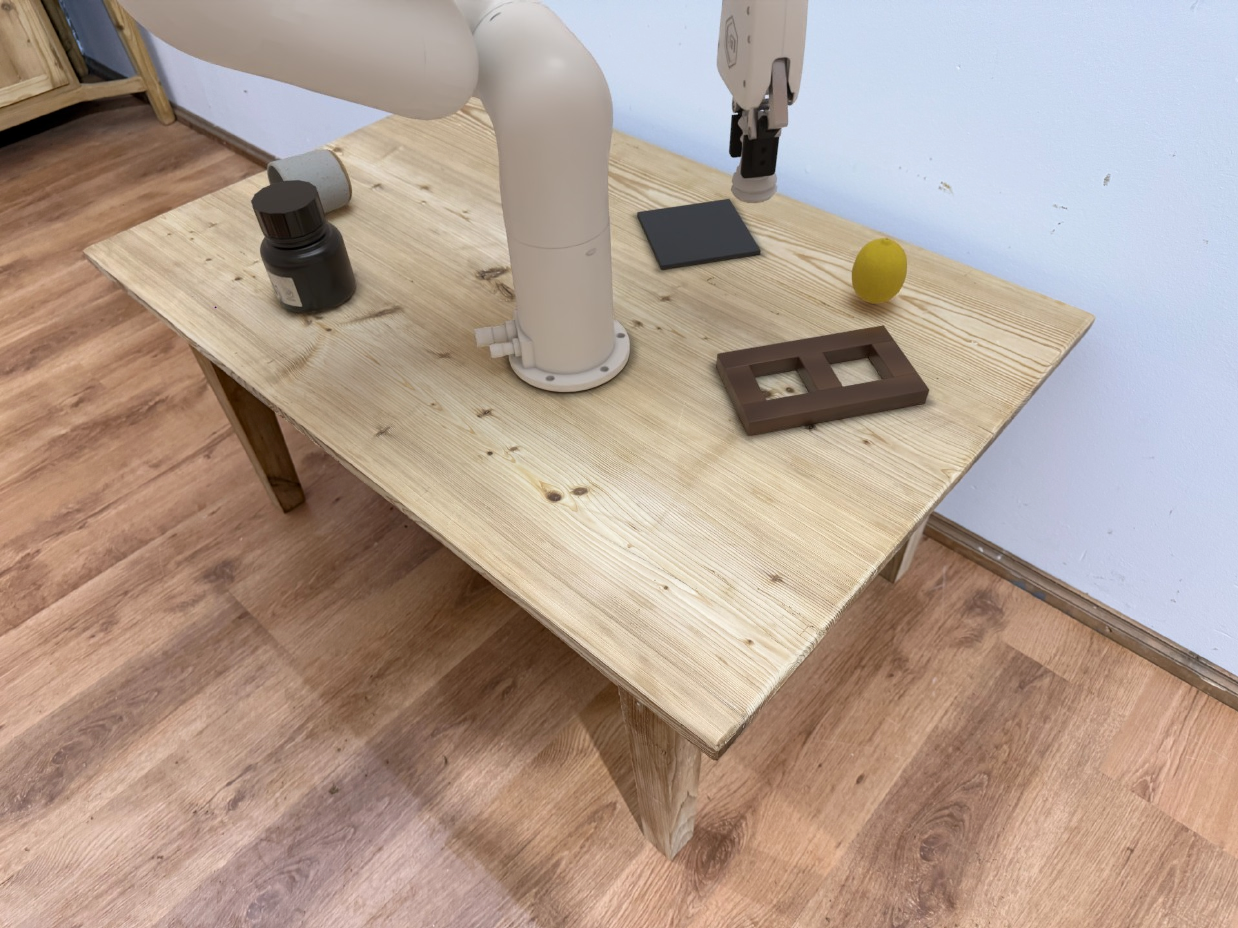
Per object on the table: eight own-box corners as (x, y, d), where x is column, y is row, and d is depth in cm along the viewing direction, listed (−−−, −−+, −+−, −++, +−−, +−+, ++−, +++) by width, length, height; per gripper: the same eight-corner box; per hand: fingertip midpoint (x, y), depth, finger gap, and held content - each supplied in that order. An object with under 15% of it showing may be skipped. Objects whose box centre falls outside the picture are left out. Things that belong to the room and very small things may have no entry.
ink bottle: (276, 276, 99) (240, 181, 91) (352, 261, 101) (324, 167, 92) (280, 324, 93) (241, 228, 84) (361, 308, 95) (331, 211, 86)
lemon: (898, 321, 90) (915, 256, 85) (845, 315, 91) (858, 251, 85) (897, 290, 94) (913, 226, 88) (846, 285, 95) (859, 222, 89)
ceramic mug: (362, 210, 109) (346, 153, 103) (304, 234, 105) (283, 176, 100) (323, 181, 114) (306, 126, 109) (267, 203, 111) (246, 147, 105)
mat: (661, 270, 98) (661, 265, 98) (637, 216, 106) (637, 212, 106) (760, 254, 100) (760, 250, 99) (729, 202, 108) (729, 198, 107)
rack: (925, 403, 82) (929, 389, 80) (747, 436, 79) (749, 422, 78) (880, 338, 88) (883, 324, 87) (715, 366, 86) (716, 353, 85)
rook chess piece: (724, 201, 81) (724, 120, 76) (739, 178, 84) (740, 98, 78) (769, 208, 80) (773, 126, 74) (783, 184, 83) (787, 103, 77)
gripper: (700, -81, 72) (692, 130, 85) (755, -14, 61) (736, 215, 74) (785, -88, 72) (764, 122, 86) (855, -24, 61) (818, 205, 75)
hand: (751, 163), depth 80 cm, fingers closed on rook chess piece, 3 cm apart
